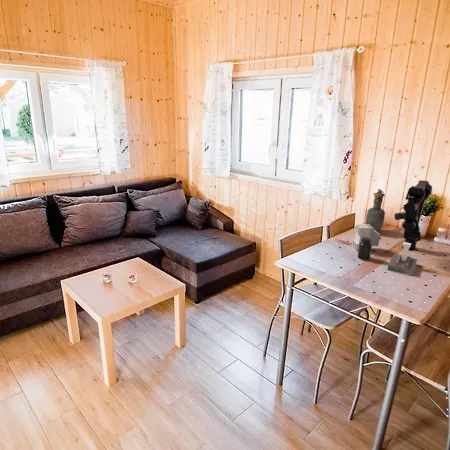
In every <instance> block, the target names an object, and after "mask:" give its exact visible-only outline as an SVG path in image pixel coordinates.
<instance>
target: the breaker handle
mask: <svg viewBox="0 0 450 450" xmlns="http://www.w3.org/2000/svg"><path fill="white" fill-rule="evenodd" d="M402 246H403V247H404V248H403V247H402V248H403V249H402V253H401V256H402V258H401V260H402V261H406V260H407V257H408V254H409V251H410V250H409V248H410V246H411V243H406V242H405V241H404V242H403V244H402Z"/></svg>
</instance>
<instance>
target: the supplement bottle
mask: <svg viewBox="0 0 450 450" xmlns="http://www.w3.org/2000/svg"><path fill="white" fill-rule="evenodd" d="M361 241H362V242H360V243H359V249H358V251H357V258H358V259H359V260H362V261H369V260H370V259H371V256H372V248H373V246H372V244H371V239H370V238H367V237H363V238H362V240H361Z"/></svg>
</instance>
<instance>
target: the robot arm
mask: <svg viewBox="0 0 450 450" xmlns="http://www.w3.org/2000/svg"><path fill="white" fill-rule="evenodd" d="M432 192H433V186H432V185H431V184H430V181H428V180H421V179H420V180H418V183H417V184H416V185H411V186H410V188H408V189H407V193H406V196H405V200H407V202H406V203H405V204H404V205H403V212H395V213H394V220H395V221H398V220H403V222H402V224H401V228H403V229H404V231H403V237H402V238H403V239H405V240H404V242H406V243H411V246H410V248H409V250H408V251H410V252H412V251H416V250H418V248H417V242H421V239H422V233H421V228H420V225H419V224H420V221H421V217H422V213H423V209H424V206H425V202H427V201H428V200H429V199H430V196H431V195H432ZM401 248H404V247H403V245H402V246H401Z"/></svg>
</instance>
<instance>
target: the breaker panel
mask: <svg viewBox="0 0 450 450" xmlns="http://www.w3.org/2000/svg"><path fill="white" fill-rule="evenodd" d="M401 258H402V254H394V253H393V255H392V256H391V258H390V261H389V263H388V265H387V271H389V272H390V271H391V272H395V273H399V274H403V275H406V276H407V275H408V276H410V277H411V276H413V275H414V272H415V269H416V265H417V264H418V263H417V262H418V259H417V258H413V257H411V256H407V260H406V261H402V260H401Z"/></svg>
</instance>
